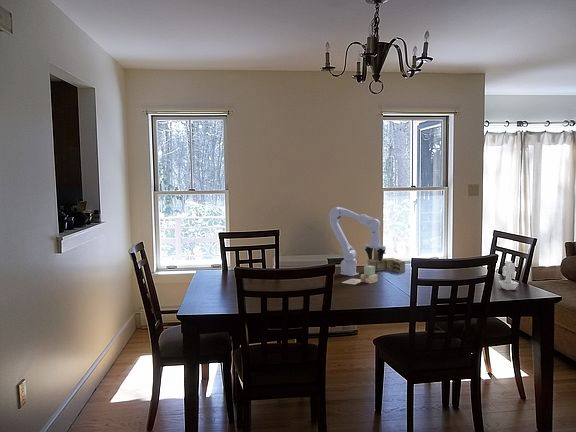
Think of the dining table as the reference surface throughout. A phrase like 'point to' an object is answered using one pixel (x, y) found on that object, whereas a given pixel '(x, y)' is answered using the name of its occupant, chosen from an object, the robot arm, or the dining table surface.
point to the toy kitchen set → (387, 263)
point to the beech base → (369, 278)
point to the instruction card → (352, 281)
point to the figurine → (508, 276)
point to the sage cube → (369, 270)
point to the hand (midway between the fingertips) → (375, 260)
